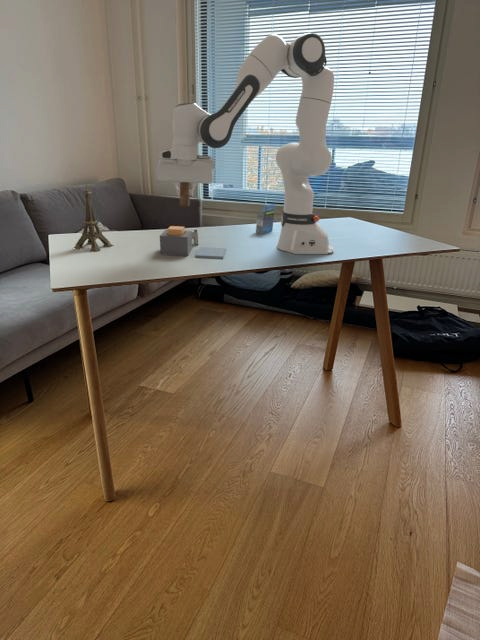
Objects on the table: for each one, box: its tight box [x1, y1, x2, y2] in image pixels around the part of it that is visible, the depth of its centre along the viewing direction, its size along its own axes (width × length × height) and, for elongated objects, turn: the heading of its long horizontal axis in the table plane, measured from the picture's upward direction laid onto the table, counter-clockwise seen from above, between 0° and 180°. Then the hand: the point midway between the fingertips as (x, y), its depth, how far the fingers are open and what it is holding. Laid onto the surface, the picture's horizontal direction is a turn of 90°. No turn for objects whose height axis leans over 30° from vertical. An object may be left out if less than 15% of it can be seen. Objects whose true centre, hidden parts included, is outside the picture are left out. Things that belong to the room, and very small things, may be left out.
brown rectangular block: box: [179, 182, 191, 207], centre depth 154 cm, size 3×3×8 cm
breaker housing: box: [159, 229, 193, 257], centre depth 158 cm, size 10×10×7 cm
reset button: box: [167, 225, 185, 236], centre depth 156 cm, size 5×5×3 cm
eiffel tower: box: [73, 180, 114, 253], centre depth 156 cm, size 11×11×25 cm
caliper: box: [192, 229, 199, 246], centre depth 176 cm, size 20×1×6 cm, turn 22°
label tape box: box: [255, 204, 275, 234], centre depth 194 cm, size 9×4×12 cm, turn 144°
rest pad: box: [195, 246, 227, 259], centre depth 158 cm, size 10×12×1 cm
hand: (184, 195), depth 154 cm, fingers closed on brown rectangular block, 3 cm apart
